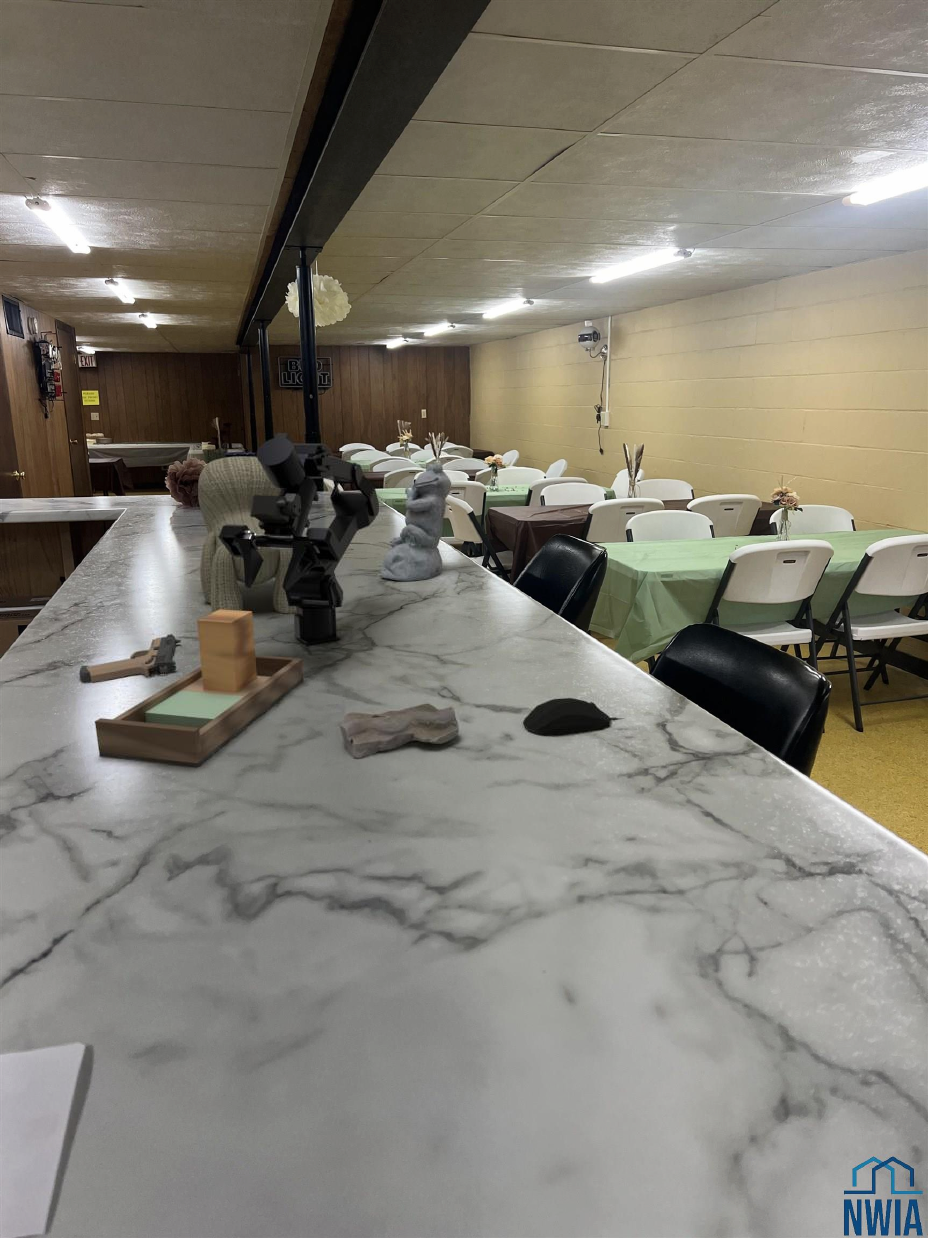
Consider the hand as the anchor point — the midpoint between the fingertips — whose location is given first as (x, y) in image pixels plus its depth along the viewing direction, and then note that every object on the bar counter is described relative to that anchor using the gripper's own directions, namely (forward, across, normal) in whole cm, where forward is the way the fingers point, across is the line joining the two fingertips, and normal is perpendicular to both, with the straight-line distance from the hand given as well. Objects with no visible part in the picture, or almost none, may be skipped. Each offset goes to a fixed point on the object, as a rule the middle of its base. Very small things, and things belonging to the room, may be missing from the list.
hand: (265, 588), depth 118 cm
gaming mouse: (+17, +49, +3) cm, 52 cm away
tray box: (+21, 0, -2) cm, 21 cm away
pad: (+24, 0, -5) cm, 25 cm away
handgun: (+10, -24, +10) cm, 28 cm away
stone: (+24, +27, -4) cm, 36 cm away
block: (+17, 0, -1) cm, 17 cm away
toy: (-19, -24, +39) cm, 50 cm away
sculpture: (-44, +2, +64) cm, 77 cm away
